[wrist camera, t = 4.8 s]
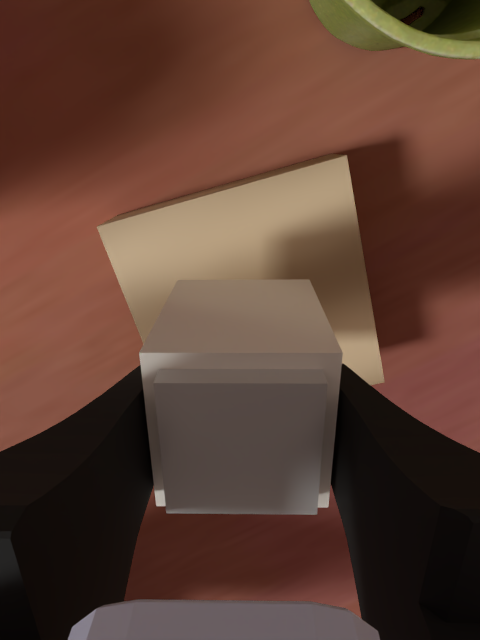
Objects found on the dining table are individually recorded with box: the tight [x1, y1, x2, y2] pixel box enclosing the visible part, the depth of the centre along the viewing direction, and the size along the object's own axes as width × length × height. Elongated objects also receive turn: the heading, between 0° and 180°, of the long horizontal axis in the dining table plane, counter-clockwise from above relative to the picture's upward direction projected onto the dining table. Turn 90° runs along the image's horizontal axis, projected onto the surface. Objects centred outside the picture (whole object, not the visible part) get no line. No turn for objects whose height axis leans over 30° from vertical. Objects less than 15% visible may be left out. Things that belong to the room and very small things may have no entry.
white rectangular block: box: [139, 279, 343, 515], centre depth 12 cm, size 4×4×6 cm
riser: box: [97, 154, 384, 385], centre depth 19 cm, size 10×10×3 cm
